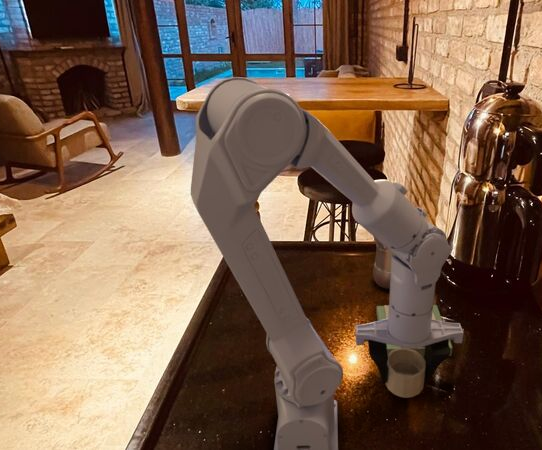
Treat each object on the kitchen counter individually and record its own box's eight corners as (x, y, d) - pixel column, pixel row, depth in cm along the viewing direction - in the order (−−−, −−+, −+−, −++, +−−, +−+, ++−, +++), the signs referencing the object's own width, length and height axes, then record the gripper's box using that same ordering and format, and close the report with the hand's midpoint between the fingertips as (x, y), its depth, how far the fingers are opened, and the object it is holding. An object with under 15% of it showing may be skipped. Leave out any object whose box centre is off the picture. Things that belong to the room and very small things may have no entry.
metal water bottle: (404, 294, 80) (411, 201, 71) (370, 291, 81) (372, 199, 73) (406, 276, 86) (412, 188, 77) (374, 273, 87) (376, 186, 78)
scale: (451, 356, 65) (453, 345, 64) (383, 357, 65) (383, 346, 64) (435, 312, 75) (436, 302, 74) (376, 313, 75) (376, 303, 74)
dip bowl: (427, 399, 58) (429, 376, 56) (387, 400, 58) (388, 377, 56) (419, 369, 63) (421, 347, 61) (382, 370, 63) (383, 348, 61)
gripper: (457, 284, 57) (447, 356, 63) (354, 286, 57) (354, 358, 63) (473, 316, 51) (459, 393, 57) (357, 318, 51) (356, 395, 57)
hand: (404, 377), depth 60 cm, fingers closed on dip bowl, 6 cm apart
